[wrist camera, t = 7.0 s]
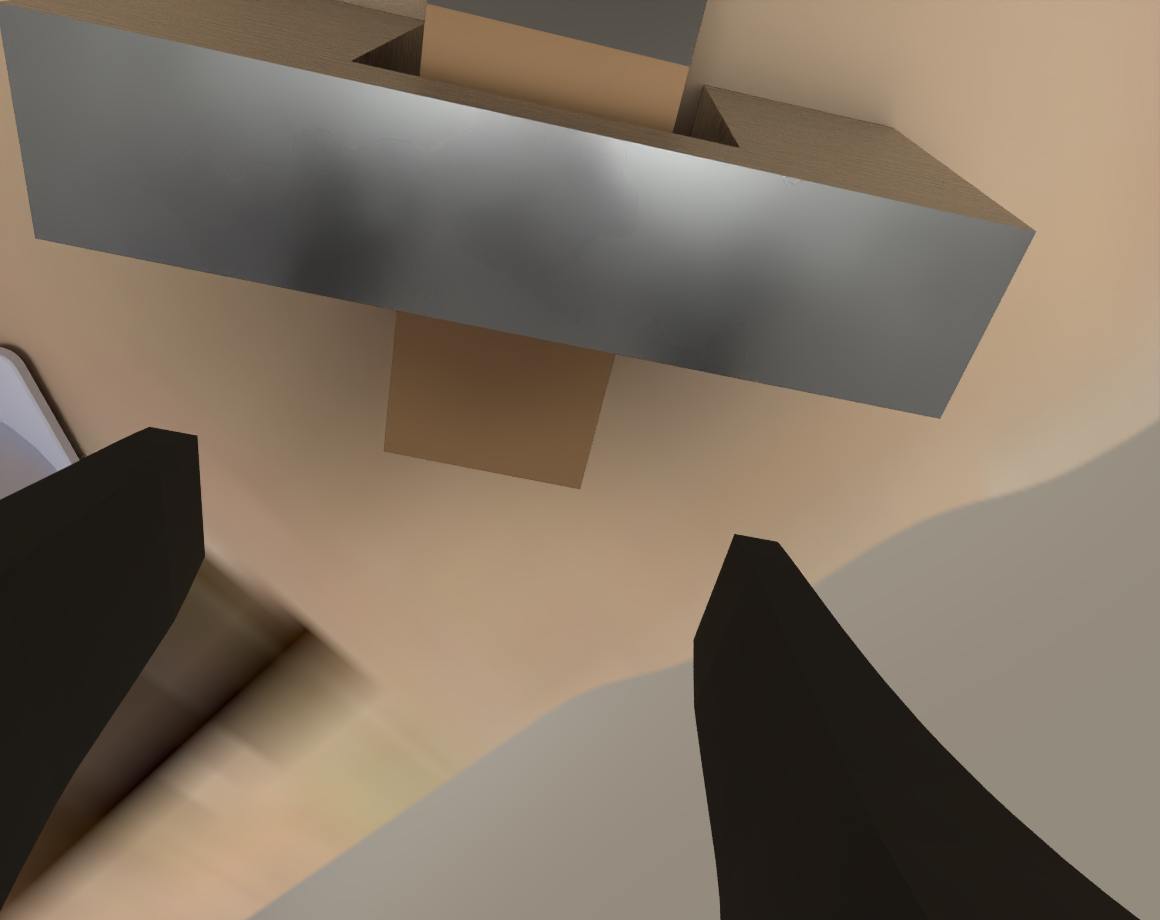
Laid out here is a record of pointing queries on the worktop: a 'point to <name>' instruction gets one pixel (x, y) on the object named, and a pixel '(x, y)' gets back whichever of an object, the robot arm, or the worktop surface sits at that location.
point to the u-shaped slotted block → (504, 197)
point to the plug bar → (505, 360)
